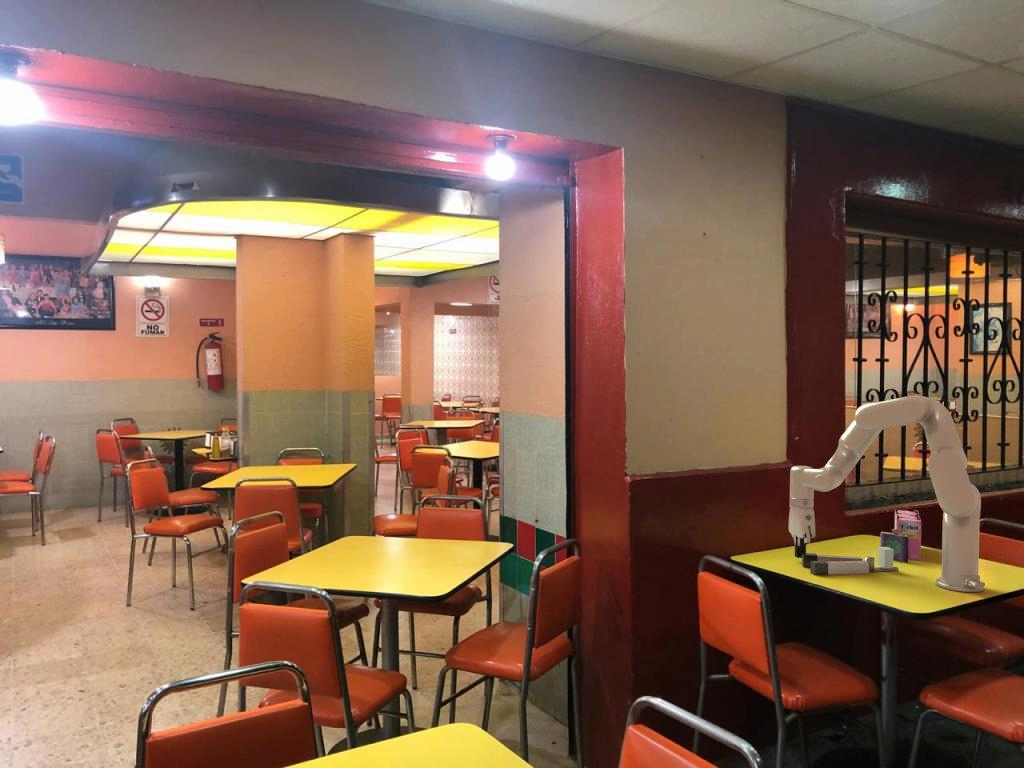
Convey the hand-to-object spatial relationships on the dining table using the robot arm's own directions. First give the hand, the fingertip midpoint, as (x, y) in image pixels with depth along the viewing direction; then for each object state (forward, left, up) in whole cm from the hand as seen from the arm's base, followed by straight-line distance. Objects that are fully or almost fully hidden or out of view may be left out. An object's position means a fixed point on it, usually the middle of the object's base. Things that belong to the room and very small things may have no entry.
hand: (800, 557), depth 257 cm
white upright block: (-13, -22, 0) cm, 26 cm away
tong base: (-14, -11, -2) cm, 18 cm away
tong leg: (-8, -7, -1) cm, 11 cm away
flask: (0, -34, -2) cm, 34 cm away
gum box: (+10, -45, -2) cm, 46 cm away
